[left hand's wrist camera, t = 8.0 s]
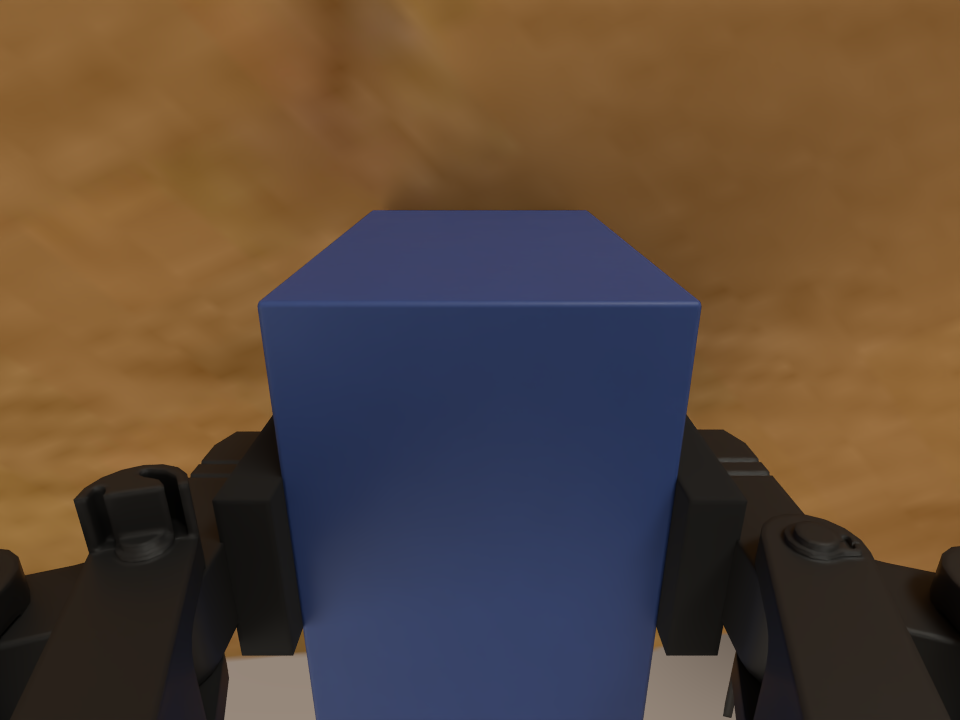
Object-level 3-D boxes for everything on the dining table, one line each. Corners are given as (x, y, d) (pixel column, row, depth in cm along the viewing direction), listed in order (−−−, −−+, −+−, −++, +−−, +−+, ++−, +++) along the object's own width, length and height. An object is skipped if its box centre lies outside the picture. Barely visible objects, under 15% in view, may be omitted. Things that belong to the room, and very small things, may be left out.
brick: (571, 472, 18) (641, 741, 10) (388, 472, 18) (317, 741, 10) (588, 209, 15) (705, 302, 7) (371, 210, 15) (254, 301, 7)
